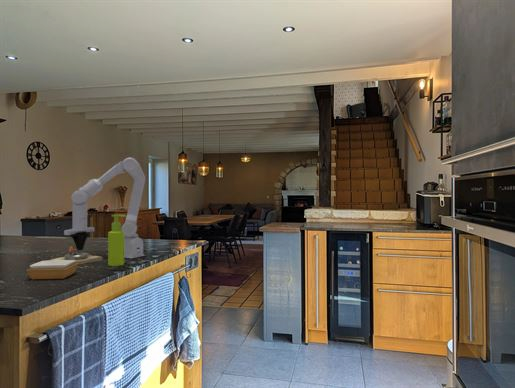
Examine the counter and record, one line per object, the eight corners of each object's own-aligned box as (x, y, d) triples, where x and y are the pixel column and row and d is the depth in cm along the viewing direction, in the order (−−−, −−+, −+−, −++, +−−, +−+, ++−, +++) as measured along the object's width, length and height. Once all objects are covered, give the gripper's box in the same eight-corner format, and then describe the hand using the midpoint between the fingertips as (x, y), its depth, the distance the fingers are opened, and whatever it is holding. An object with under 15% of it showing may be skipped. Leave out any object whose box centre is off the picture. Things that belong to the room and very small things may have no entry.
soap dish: (78, 273, 124) (78, 259, 124) (66, 280, 114) (66, 264, 114) (41, 274, 123) (41, 259, 123) (26, 281, 113) (26, 265, 113)
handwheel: (93, 256, 147) (93, 246, 147) (73, 260, 139) (73, 249, 139) (79, 254, 151) (79, 245, 151) (59, 258, 144) (59, 248, 144)
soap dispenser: (120, 266, 135) (120, 215, 135) (105, 265, 136) (105, 214, 136) (129, 263, 140) (129, 214, 140) (114, 262, 142) (114, 213, 142)
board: (102, 259, 148) (102, 256, 148) (71, 265, 136) (71, 262, 136) (81, 256, 155) (81, 253, 155) (50, 262, 142) (50, 258, 142)
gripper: (85, 217, 158) (85, 246, 158) (58, 219, 145) (58, 252, 145) (98, 217, 156) (98, 247, 156) (71, 219, 142) (71, 253, 142)
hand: (79, 249), depth 150 cm, fingers closed
